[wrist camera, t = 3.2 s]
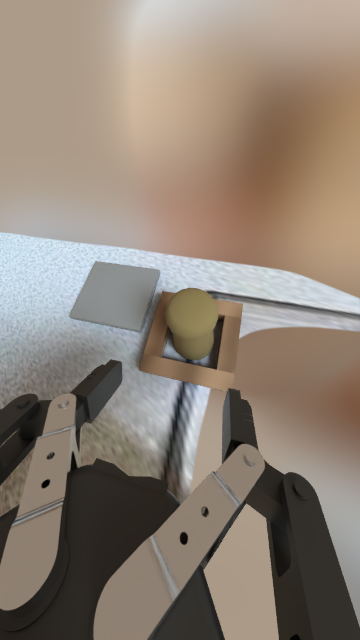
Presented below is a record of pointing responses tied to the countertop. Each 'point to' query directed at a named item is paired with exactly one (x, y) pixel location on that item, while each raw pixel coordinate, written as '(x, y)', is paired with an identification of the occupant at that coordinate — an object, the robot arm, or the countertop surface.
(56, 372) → the countertop surface
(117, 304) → the slate pad
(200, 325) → the cork
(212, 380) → the walnut socket
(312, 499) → the robot arm
